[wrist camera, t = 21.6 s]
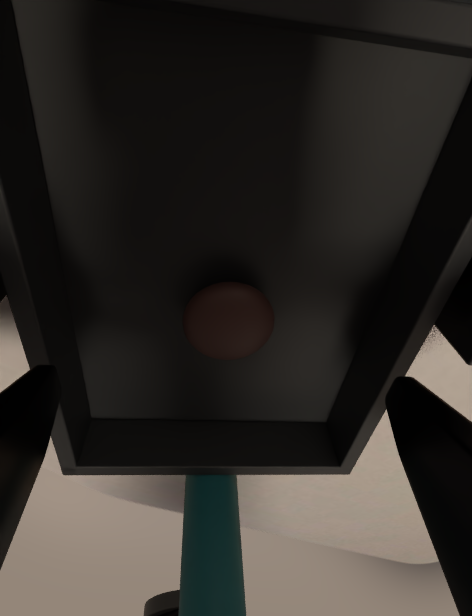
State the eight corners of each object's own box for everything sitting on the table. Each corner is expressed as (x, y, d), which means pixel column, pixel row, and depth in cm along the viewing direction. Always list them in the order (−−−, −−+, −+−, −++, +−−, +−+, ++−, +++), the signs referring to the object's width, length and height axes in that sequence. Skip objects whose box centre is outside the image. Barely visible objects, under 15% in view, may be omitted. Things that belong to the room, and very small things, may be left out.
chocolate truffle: (231, 252, 11) (235, 279, 10) (288, 309, 12) (297, 339, 11) (165, 307, 12) (160, 338, 11) (224, 353, 13) (226, 385, 12)
